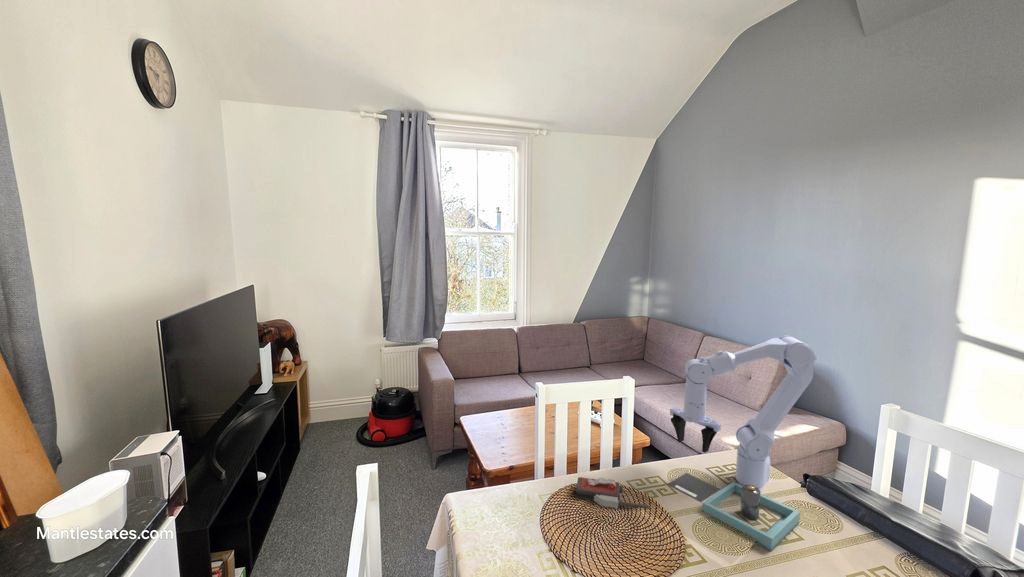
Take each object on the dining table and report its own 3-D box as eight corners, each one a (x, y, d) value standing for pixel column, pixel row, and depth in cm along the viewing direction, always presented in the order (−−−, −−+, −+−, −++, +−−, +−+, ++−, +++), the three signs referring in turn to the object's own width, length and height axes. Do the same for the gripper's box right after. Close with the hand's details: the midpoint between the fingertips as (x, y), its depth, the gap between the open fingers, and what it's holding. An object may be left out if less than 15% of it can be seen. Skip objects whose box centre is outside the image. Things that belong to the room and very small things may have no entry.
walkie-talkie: (570, 503, 109) (649, 515, 104) (571, 487, 109) (650, 499, 104) (574, 484, 118) (647, 495, 113) (574, 470, 117) (647, 480, 112)
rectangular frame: (732, 491, 114) (733, 481, 114) (799, 523, 101) (800, 511, 101) (702, 513, 104) (702, 502, 104) (771, 551, 92) (772, 538, 91)
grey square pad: (686, 476, 122) (686, 472, 122) (719, 492, 114) (720, 488, 114) (666, 487, 116) (666, 483, 116) (700, 505, 108) (700, 501, 108)
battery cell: (744, 509, 106) (746, 480, 105) (761, 517, 102) (763, 487, 102) (737, 515, 103) (739, 485, 102) (754, 523, 100) (756, 493, 99)
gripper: (664, 396, 123) (662, 440, 124) (712, 412, 111) (709, 460, 112) (678, 391, 127) (676, 434, 128) (725, 406, 115) (722, 452, 117)
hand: (692, 446), depth 121 cm, fingers open, 7 cm apart
